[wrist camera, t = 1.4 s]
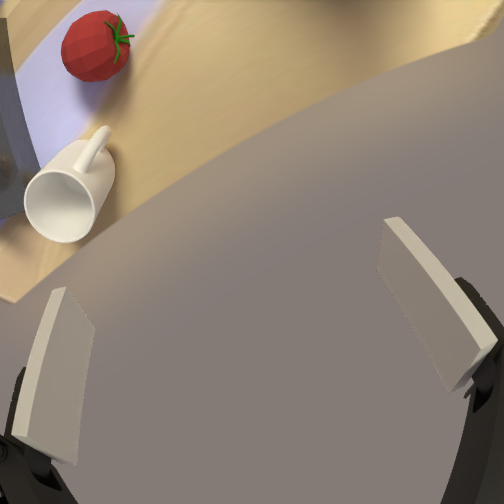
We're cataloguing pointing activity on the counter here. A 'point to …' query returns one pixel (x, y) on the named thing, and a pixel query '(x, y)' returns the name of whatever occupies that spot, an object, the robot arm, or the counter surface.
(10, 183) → the console
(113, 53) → the tomato
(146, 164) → the counter surface
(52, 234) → the mug
